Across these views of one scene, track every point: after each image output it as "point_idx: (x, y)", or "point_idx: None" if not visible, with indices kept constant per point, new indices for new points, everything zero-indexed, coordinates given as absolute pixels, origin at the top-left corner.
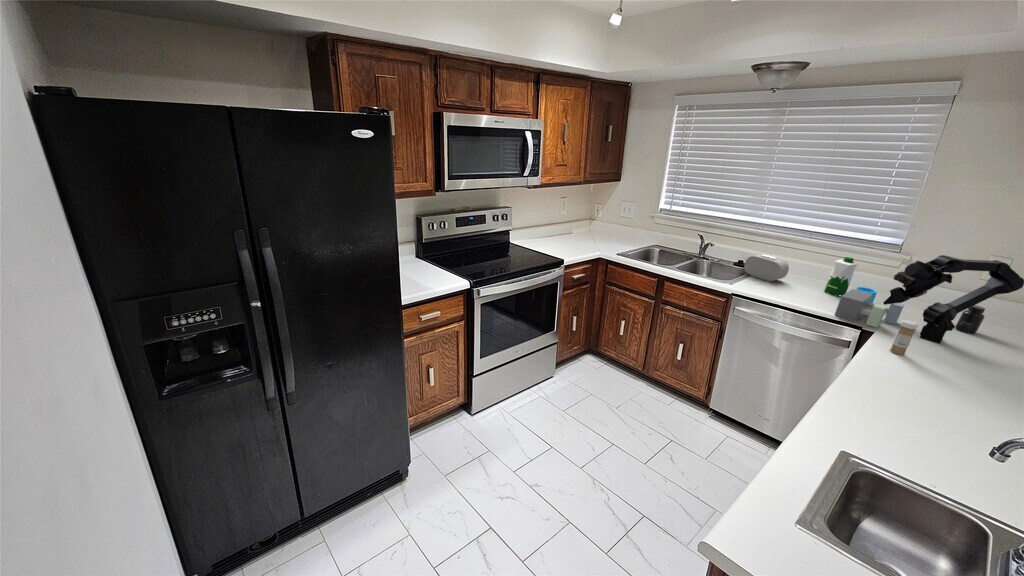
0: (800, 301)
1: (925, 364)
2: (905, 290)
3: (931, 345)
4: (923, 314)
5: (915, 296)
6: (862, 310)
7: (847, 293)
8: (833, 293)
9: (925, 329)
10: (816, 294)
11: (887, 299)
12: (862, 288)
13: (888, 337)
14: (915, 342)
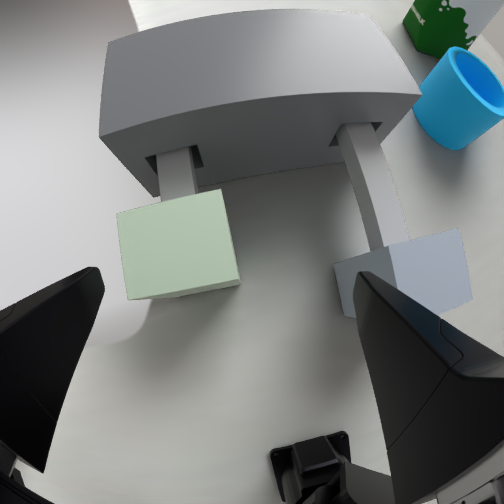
0: (192, 12)
1: (33, 484)
2: (460, 386)
3: (220, 493)
4: (310, 500)
5: (401, 498)
6: (160, 174)
7: (216, 19)
8: (413, 36)
9: (296, 474)
10: (347, 9)
11: (32, 302)
12: (480, 67)
13: (105, 378)
14: (179, 458)
